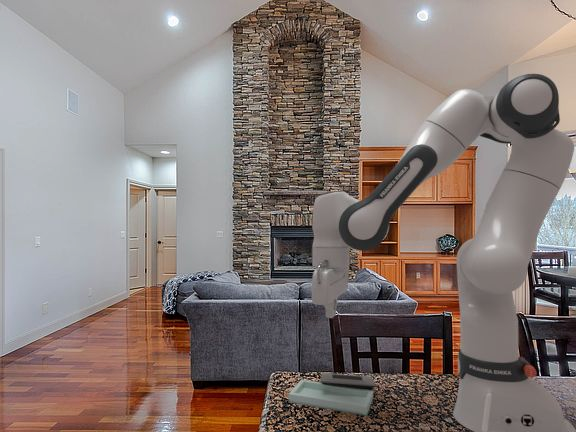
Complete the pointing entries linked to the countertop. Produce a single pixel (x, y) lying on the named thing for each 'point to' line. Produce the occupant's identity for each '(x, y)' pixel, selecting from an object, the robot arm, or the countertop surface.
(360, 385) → the electrical outlet
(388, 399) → the countertop surface
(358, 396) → the parts tray
